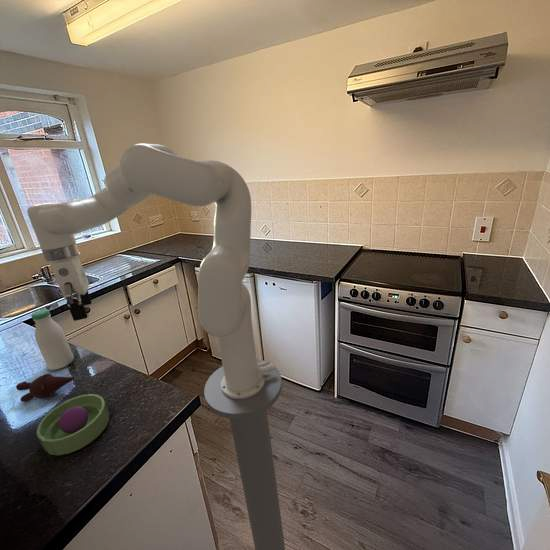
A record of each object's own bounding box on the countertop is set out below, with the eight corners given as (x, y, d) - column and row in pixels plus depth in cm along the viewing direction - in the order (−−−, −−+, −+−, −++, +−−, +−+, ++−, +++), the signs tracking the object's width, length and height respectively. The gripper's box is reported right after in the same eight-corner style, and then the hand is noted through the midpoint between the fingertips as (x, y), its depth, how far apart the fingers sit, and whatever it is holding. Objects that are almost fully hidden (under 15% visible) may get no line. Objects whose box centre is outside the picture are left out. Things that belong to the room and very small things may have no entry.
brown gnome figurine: (75, 362, 91) (22, 377, 89) (63, 372, 84) (5, 388, 82) (83, 383, 92) (30, 398, 90) (71, 394, 85) (14, 411, 83)
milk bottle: (76, 362, 103) (56, 310, 95) (50, 373, 98) (26, 320, 91) (71, 353, 108) (51, 304, 101) (46, 364, 103) (23, 313, 96)
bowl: (111, 401, 83) (106, 387, 82) (108, 440, 71) (102, 424, 69) (52, 421, 78) (44, 407, 76) (37, 467, 66) (28, 451, 64)
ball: (92, 415, 78) (85, 397, 76) (90, 432, 73) (81, 413, 71) (66, 425, 76) (58, 407, 74) (61, 443, 71) (52, 424, 69)
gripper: (73, 257, 70) (95, 321, 77) (83, 243, 85) (101, 296, 91) (35, 264, 68) (61, 329, 74) (52, 248, 83) (73, 303, 89)
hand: (83, 311), depth 83 cm, fingers open, 9 cm apart
